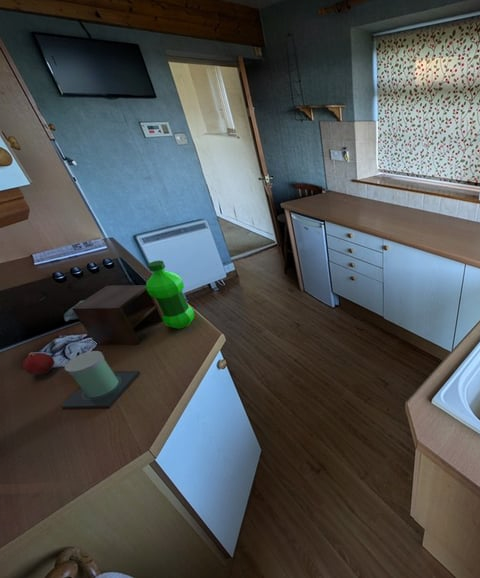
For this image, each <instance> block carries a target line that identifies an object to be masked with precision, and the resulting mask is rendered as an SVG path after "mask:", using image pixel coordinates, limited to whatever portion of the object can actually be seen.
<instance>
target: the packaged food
mask: <svg viewBox="0 0 480 578" xmlns="http://www.w3.org/2000/svg"><path fill="white" fill-rule="evenodd" d="M84 300H85V299H83V300H80V301H78V303H76V304H75V305H74V306H72V307H71V308H69V309H68V310H67V311H66V312H65V313H64V314H63V319H64V321H65V322H69V321H70V320H71V321H72V320H79V318H78V317H77V315H76V314H75V312H74V311H73V309H72V308H74V307H75V306H77V305H78V304H80V303H81V302H83V301H84Z"/></svg>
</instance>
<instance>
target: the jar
mask: <svg viewBox="0 0 480 578" xmlns="http://www.w3.org/2000/svg"><path fill="white" fill-rule="evenodd" d="M64 370H65V372H66V373H67V374H69V375H70V376H71V378H72V379H73V380H74V382H75V383H76V384H77V385H78V386H79V389H80V388H81V389H82V390H83V392H84V393H85V394H86V395H87V396H88V397H91V398H93V397H99V396H102V395H104V394H106V393H108V392H110V391H111V390H113V389H114V388H115V387H116V386H117V384H118V382H119V381H118V379H117V377H116V376H115V374H114V373H113V372H114V371H113V369H112V368H111V366H110V365H109V363H108V362H107V360H106V359H105V355H104V354H103V352H102V351H98V350H91V351H87V352H83V353H81V354H79V355H77V356H74V357H73V358H71V359H70V360H69V361H67V363H66V364H65V365H64Z"/></svg>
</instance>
